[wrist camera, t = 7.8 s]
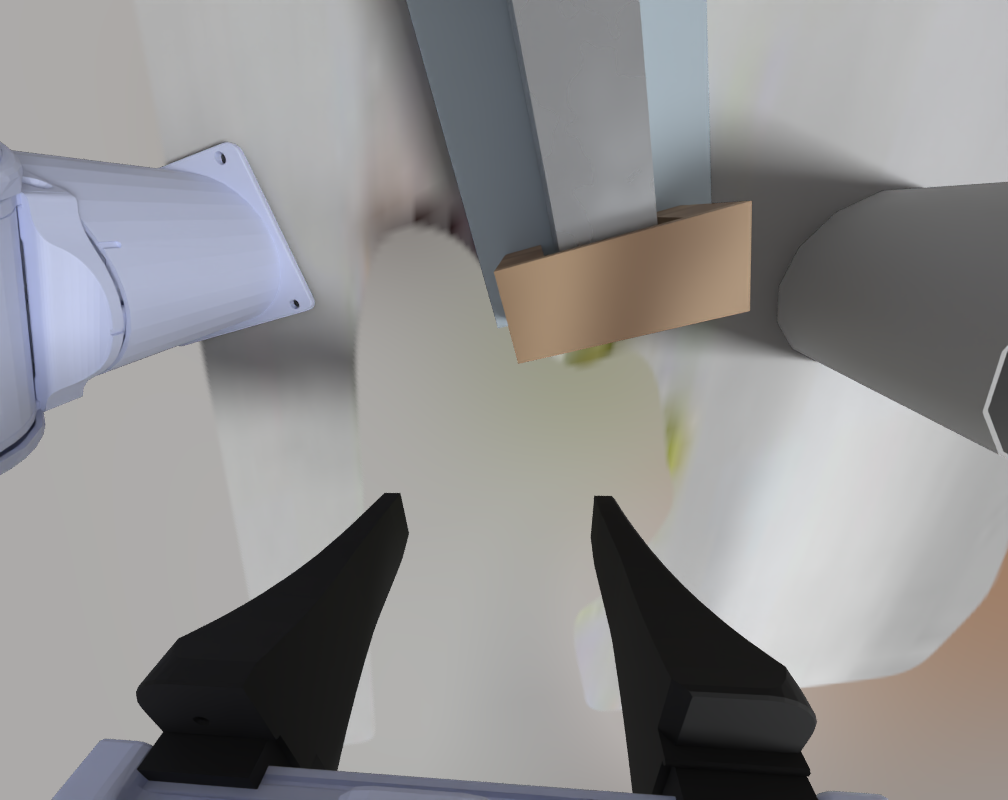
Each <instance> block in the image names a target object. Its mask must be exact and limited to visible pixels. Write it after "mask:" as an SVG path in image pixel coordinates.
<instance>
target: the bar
mask: <svg viewBox="0 0 1008 800" xmlns="http://www.w3.org/2000/svg"><path fill="white" fill-rule="evenodd" d="M506 2H507V8H508V13H509V18H510V23H511V28H512V33H513V38H514V43H515V49H516V54H517V59H518V64H519V69H520V74H521V79H522V85H523V90H524V95H525V100H526V105H527V110H528V115H529V121H530V126H531V131H532V136H533V141H534V146H535V151H536V156H537V162H538V167H539V172H540V177H541V182H542V187H543V192H544V198H545V203H546V208H547V213H548V218H549V223H550V228H551V234H552V239H553V244H554V249H555V253H557V252H561V251H564V250H568V249H572V248H575V247H579V246H582V245H586V244H590V243H593V242H597V241H601V240H604V239H608V238H611V237H615V236H619V235H622V234H626V233H629V232H633V231H637V230H640V229H644V228H648V227H651V226H655V225H658V223H657V211H656V198H655V186H654V173H653V161H652V149H651V136H650V124H649V111H648V99H647V87H646V74H645V62H644V50H643V37H642V25H641V12H640V0H506Z"/></svg>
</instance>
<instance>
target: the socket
mask: <svg viewBox="0 0 1008 800" xmlns="http://www.w3.org/2000/svg"><path fill="white" fill-rule="evenodd" d="M657 223H658V225H655V226H651V227H648V228H644V229H640V230H637V231H633V232H629V233H626V234H622V235H619V236H615V237H611V238H608V239H604V240H601V241H597V242H593V243H590V244H586V245H582V246H579V247H575V248H572V249H568V250H564V251H561V252H557V253H554V254H550V255H546V256H544V254H543V251H542V247H541V245H538V246H535V247H531V248H528V249H524V250H520V251H517V252H513V253H510V254H506V255H505V256H504V257H503V259H502V260H501V262H500V263H499V265H498V266H497V268H496V269H495V271H494V275H495V278H496V282H497V286H498V290H499V293H500V297H501V301H502V305H503V308H504V312H505V316H506V320H507V323H508V327H509V331H510V335H511V338H512V342H513V345H514V349H515V353H516V357H517V360H518V363H524V362H528V361H533V360H537V359H541V358H546V357H550V356H555V355H559V354H563V353H568V352H572V351H577V350H581V349H585V348H590V347H594V346H599V345H603V344H607V343H612V342H616V341H620V340H625V339H629V338H634V337H638V336H642V335H647V334H651V333H656V332H660V331H664V330H669V329H673V328H678V327H682V326H686V325H691V324H695V323H700V322H704V321H708V320H713V319H717V318H722V317H726V316H730V315H735V314H739V313H743V312H748V311H750V278H751V224H752V201H740V202H724V203H709V204H694V205H680V206H676V207H673V208H669V209H666V210H662V211H658V212H657Z"/></svg>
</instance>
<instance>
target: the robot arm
mask: <svg viewBox="0 0 1008 800" xmlns="http://www.w3.org/2000/svg"><path fill="white" fill-rule="evenodd" d="M222 154H224V155H225V158H226V163H225V164H224V163H223V162H222V159H221V155H222ZM294 299H295V300H296V301H298V303H299V307H297V306H296V305H295V304H294ZM314 305H315V301H314V298H313V296H312V294H311V292H310V290H309V287H308V285H307V283H306V281H305V279H304V277H303V275H302V273H301V271H300V269H299V267H298V265H297V263H296V260H295V258H294V256H293V254H292V252H291V250H290V248H289V246H288V244H287V242H286V240H285V238H284V236H283V233H282V231H281V229H280V227H279V225H278V223H277V221H276V219H275V217H274V215H273V213H272V211H271V209H270V206H269V204H268V202H267V200H266V198H265V196H264V194H263V192H262V190H261V188H260V186H259V184H258V182H257V179H256V177H255V175H254V173H253V171H252V169H251V167H250V165H249V163H248V161H247V159H246V157H245V155H244V152H243V151H242V149H241V148H240V147H239V146H238V145H236V144H233V143H230V142H224V143H221V144H219V145H216V146H213V147H211V148H208V149H206V150H203V151H201V152H198V153H196V154H193V155H191V156H188V157H185V158H183V159H180V160H178V161H175V162H173V163H170V164H168V165H165V166H162V167H160V168H149V167H141V166H133V165H125V164H117V163H109V162H101V161H93V160H85V159H77V158H68V157H61V156H53V155H45V154H37V153H29V152H21V151H13V150H10V149H9V148H8V147H7V146H6V145H4V144H3V143H1V142H0V475H1V474H3V473H5V472H6V471H8V470H10V469H12V468H13V467H14V466H15V465H17V464H18V463H20V462H21V461H22V460H24V459H25V458H26V457H27V456H28V455H29V454H30V453H31V452H32V451H33V450H34V449H35V448H36V446H37V445H38V443H39V441H40V440H41V438H42V436H43V434H44V429H45V419H44V412H45V411H47V410H50V409H52V408H55V407H57V406H59V405H62V404H64V403H67V402H70V401H72V400H74V399H77V398H80V397H82V396H83V388H84V386H85V384H86V382H87V381H88V380H89V379H91V378H93V377H95V376H97V375H100V374H103V373H105V372H108V371H111V370H113V369H116V368H119V367H122V366H124V365H127V364H130V363H132V362H135V361H138V360H141V359H143V358H146V357H148V356H151V355H154V354H157V353H160V352H162V351H165V350H168V349H170V348H173V347H176V346H184V345H188V344H191V343H194V342H198V341H202V340H205V339H209V338H213V337H216V336H220V335H223V334H227V333H230V332H234V331H237V330H241V329H244V328H248V327H251V326H255V325H259V324H262V323H266V322H269V321H273V320H276V319H280V318H283V317H287V316H290V315H294V314H297V313H301V312H304V311H308V310H310V309H312V308H313V307H314ZM591 530H592V531H591V543H592V551H593V558H594V565H595V570H596V574H597V578H598V582H599V586H600V590H601V595H602V599H603V603H604V607H605V611H606V615H607V619H608V624H609V628H610V633H611V637H612V643H613V649H614V656H615V662H616V669H617V676H618V683H619V690H620V697H621V704H622V711H623V718H624V726H625V734H626V742H627V749H628V758H629V766H630V775H631V783H632V791H633V793H624V792H610V791H597V790H583V789H570V788H557V787H542V786H530V785H516V784H504V783H491V782H477V781H462V780H451V779H437V778H424V777H411V776H398V775H384V774H371V773H357V772H345V771H337V769H338V765H339V760H340V756H341V752H342V748H343V743H344V739H345V735H346V730H347V726H348V722H349V718H350V714H351V711H352V707H353V703H354V699H355V695H356V691H357V687H358V684H359V680H360V677H361V673H362V669H363V666H364V662H365V659H366V655H367V652H368V649H369V645H370V642H371V639H372V635H373V632H374V629H375V626H376V624H377V621H378V618H379V616H380V613H381V611H382V608H383V606H384V603H385V601H386V598H387V596H388V593H389V591H390V588H391V586H392V583H393V581H394V579H395V576H396V574H397V571H398V568H399V566H400V563H401V561H402V558H403V554H404V550H405V546H406V543H407V539H408V535H409V532H408V528H407V522H406V517H405V513H404V508H403V503H402V499H401V495H400V493H384V494H383V495H382V496H381V497H380V498H379V499H378V500H377V501H376V502H375V503H374V504H373V505H372V506H371V507H370V508H369V509H368V510H366V512H364V513H363V514H362V515H361V516H360V517H359V518H358V519H357V520H356V521H355V522H354V523H353V524H352V525H351V526H350V527H349V528H347V529H346V530H345V531H344V532H343V533H342V534H341V535H340V536H339V537H337V538H336V539H335V540H334V541H333V542H332V543H331V544H329V545H328V546H327V547H326V548H325V549H324V550H322V551H321V552H320V553H319V554H318V555H316V556H315V557H314V558H312V559H311V560H310V561H309V562H307V563H306V564H305V565H303V566H302V567H301V568H299V569H298V570H297V571H295V572H294V573H292V574H291V575H290V576H288V577H287V578H285V579H284V580H282V581H281V582H279V583H277V584H276V585H274V586H273V587H271V588H270V589H268V590H267V591H265V592H264V593H262V594H261V595H259V596H257V597H256V598H254V599H252V600H251V601H249V602H247V603H246V604H244V605H242V606H240V607H239V608H237V609H235V610H233V611H232V612H230V613H228V614H226V615H224V616H222V617H221V618H219V619H217V620H215V621H213V622H211V623H209V624H207V625H205V626H203V627H201V628H199V629H197V630H195V631H193V632H191V633H189V634H187V635H185V636H183V637H181V638H179V639H178V640H177V641H176V642H175V643H174V645H173V646H172V647H171V648H170V649H169V650H168V652H167V653H166V654H165V655H164V656H163V658H162V659H161V660H160V661H159V663H158V664H157V665H156V666H155V667H154V668H153V670H152V671H151V672H150V673H149V674H148V676H147V677H146V678H145V679H144V681H143V682H142V683H141V684H140V685H139V687H138V689H137V691H136V696H137V701H138V703H139V705H140V706H141V707H142V709H143V710H144V711H145V712H146V713H147V714H148V716H149V717H150V718H151V719H152V720H153V721H154V722H155V723H156V724H157V725H158V726H159V727H160V729H161V730H162V731H163V733H162V735H161V736H160V737H159V739H158V740H157V742H156V743H155V745H154V746H152V745H150V744H147V743H145V742H140V741H130V740H116V739H103V740H101V741H99V743H98V744H97V745H96V746H95V748H93V750H92V751H91V753H89V755H88V756H87V757H86V758H85V759H84V761H83V762H82V763H81V764H80V766H79V767H78V768H77V769H76V770H75V772H74V773H73V774H72V775H71V777H70V778H69V779H68V780H67V782H66V783H65V784H64V785H63V786H62V787H61V789H60V790H59V791H58V792H57V794H56V795H55V796H54V797H53V798H52V800H888V799H887V798H886V797H884V796H882V795H880V794H867V793H854V792H840V791H827V792H822V793H819V794H817V795H816V794H815V792H814V790H813V788H812V786H811V784H810V782H809V780H808V778H807V776H809V775H810V774H811V773H810V768H809V766H808V764H807V763H806V761H805V758H804V756H803V755H802V753H801V750H802V748H803V747H804V746H805V744H806V743H807V741H808V740H809V738H810V737H811V735H812V734H813V732H814V729H815V726H816V723H817V721H816V716H815V713H814V711H813V710H812V708H811V706H810V704H809V703H808V701H807V699H806V697H805V696H804V694H803V692H802V691H801V689H800V688H799V686H798V684H797V683H796V682H795V680H794V679H793V677H792V676H791V674H790V673H789V672H788V670H787V668H786V667H785V666H783V665H782V664H781V663H779V662H778V661H776V660H775V659H773V658H772V657H771V656H769V655H768V654H766V653H765V652H763V651H762V650H761V649H759V648H758V647H756V646H755V645H753V644H752V643H751V642H749V641H748V640H747V639H745V638H744V637H743V636H741V635H740V634H739V633H737V632H736V631H735V630H734V629H732V628H731V627H730V626H728V625H727V624H726V623H725V622H723V621H722V620H721V619H720V618H719V617H718V616H716V615H715V614H714V613H713V612H712V611H711V610H710V609H708V608H707V607H706V606H705V605H704V604H703V603H701V602H700V601H699V600H698V599H697V598H696V597H695V596H694V595H693V594H692V593H691V592H690V591H689V590H688V589H686V588H685V587H684V586H683V585H682V584H681V583H680V582H679V580H678V579H677V578H676V577H675V576H674V575H673V574H672V573H671V572H670V571H669V570H668V569H667V568H666V567H665V566H664V565H663V563H662V562H661V561H660V560H659V559H658V558H657V556H656V555H655V554H654V553H653V552H652V550H651V549H650V548H649V547H648V546H647V544H646V543H645V542H644V540H643V539H642V538H641V537H640V535H639V534H638V533H637V531H636V530H635V529H634V527H633V526H632V525H631V523H630V522H629V520H628V519H627V517H626V516H625V515H624V513H623V512H622V510H621V509H620V507H619V505H618V504H617V502H616V501H615V499H614V498H613V497H612V496H594V506H593V517H592V529H591Z"/></svg>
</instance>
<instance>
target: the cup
mask: <svg viewBox="0 0 1008 800" xmlns="http://www.w3.org/2000/svg"><path fill="white" fill-rule="evenodd" d="M777 323H778V325H779V327H780V328H781V330H782V332H783V334H784V335H785V337H786V339H787V341H788V342H789V344H790V346H791V348H792V349H794V350H796V351H798V352H800V353H802V354H804V355H806V356H808V357H810V358H812V359H813V360H815V361H817V362H819V363H821V364H823V365H825V366H827V367H829V368H831V369H833V370H835V371H837V372H839V373H841V374H843V375H845V376H847V377H849V378H850V379H852V380H854V381H856V382H858V383H860V384H862V385H864V386H866V387H868V388H870V389H872V390H874V391H876V392H878V393H880V394H882V395H884V396H886V397H888V398H889V399H891V400H893V401H895V402H897V403H899V404H901V405H903V406H905V407H907V408H909V409H911V410H913V411H915V412H917V413H919V414H921V415H923V416H925V417H926V418H928V419H930V420H932V421H934V422H936V423H938V424H940V425H942V426H944V427H946V428H948V429H950V430H952V431H954V432H956V433H958V434H960V435H962V436H963V437H965V438H967V439H969V440H971V441H973V442H975V443H977V444H979V445H981V446H983V447H985V448H987V449H989V450H991V451H993V452H995V453H997V454H999V455H1001V456H1003V457H1005V458H1007V459H1008V182H1000V183H986V184H972V185H957V186H943V187H929V188H914V189H900V190H886V191H880V192H878V193H876V194H874V195H872V196H870V197H868V198H866V199H863V200H861V201H859V202H857V203H855V204H853V205H851V206H849V207H847V208H844V209H842V210H840V211H838V212H836V213H835V214H834V215H833V216H832V217H830V218H829V219H828V220H827V221H826V222H825V223H824V224H823V225H822V226H821V227H820V228H819V229H818V230H817V231H816V232H815V233H814V234H813V235H812V236H811V237H810V238H809V239H807V240H806V241H805V242H804V243H803V244H802V245H801V246H800V247H799V248H798V250H797V252H796V254H795V256H794V258H793V260H792V262H791V264H790V266H789V268H788V270H787V272H786V274H785V276H784V278H783V280H782V282H781V284H780V286H779V293H778V314H777Z"/></svg>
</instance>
